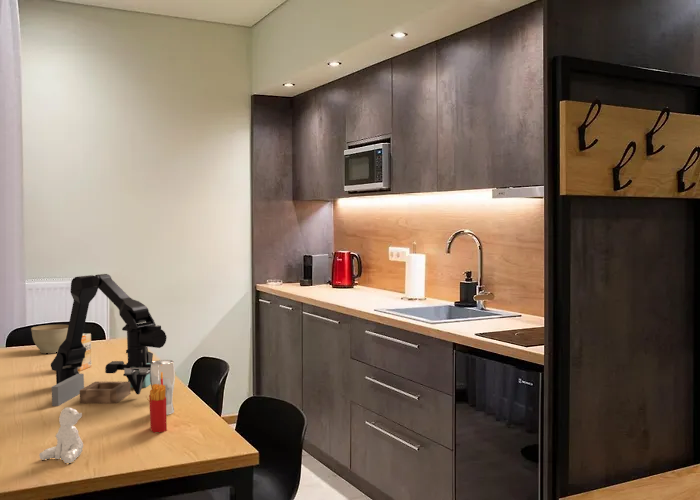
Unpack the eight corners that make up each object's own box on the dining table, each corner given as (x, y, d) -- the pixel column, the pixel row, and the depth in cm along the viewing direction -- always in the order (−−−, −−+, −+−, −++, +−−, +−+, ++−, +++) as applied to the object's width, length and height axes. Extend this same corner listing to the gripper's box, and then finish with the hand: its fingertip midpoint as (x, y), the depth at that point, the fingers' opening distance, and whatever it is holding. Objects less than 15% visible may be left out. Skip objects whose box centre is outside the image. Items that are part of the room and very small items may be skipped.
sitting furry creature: (37, 461, 167) (35, 410, 166) (64, 449, 175) (62, 401, 174) (69, 465, 163) (67, 414, 163) (94, 453, 171) (93, 404, 171)
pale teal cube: (128, 388, 237) (127, 364, 237) (134, 383, 243) (134, 360, 243) (145, 388, 237) (145, 364, 237) (151, 383, 243) (151, 360, 243)
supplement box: (80, 371, 265) (79, 336, 264) (68, 371, 266) (67, 336, 265) (92, 366, 273) (91, 333, 272) (81, 366, 274) (80, 332, 273)
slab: (52, 406, 215) (51, 386, 215) (78, 391, 233) (77, 373, 233) (58, 406, 215) (57, 386, 215) (84, 391, 233) (83, 373, 233)
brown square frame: (80, 403, 218) (79, 390, 218) (95, 393, 230) (95, 381, 230) (116, 403, 217) (116, 390, 217) (130, 393, 229) (130, 381, 229)
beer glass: (180, 410, 208) (179, 360, 208) (166, 417, 202) (165, 365, 201) (160, 408, 211) (158, 359, 210) (146, 415, 204) (144, 363, 203)
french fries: (149, 426, 193) (147, 382, 193) (163, 424, 195) (162, 381, 194) (153, 434, 185) (152, 389, 185) (168, 432, 187) (167, 388, 186)
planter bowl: (63, 355, 297) (62, 329, 296) (25, 355, 297) (24, 330, 296) (78, 348, 313) (77, 323, 312) (42, 348, 313) (41, 324, 312)
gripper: (173, 340, 230) (175, 387, 230) (117, 340, 231) (119, 387, 232) (162, 346, 219) (164, 396, 219) (103, 347, 220) (105, 396, 220)
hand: (138, 394), depth 223 cm, fingers closed
